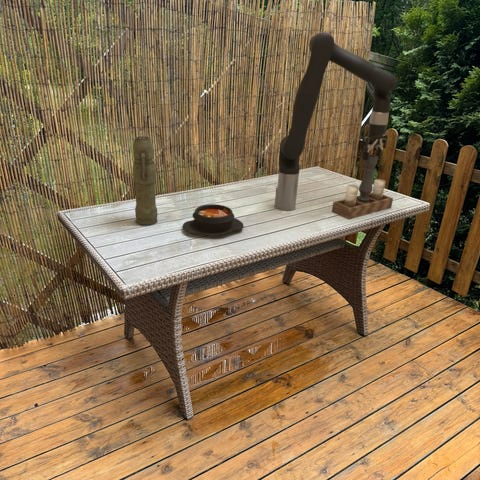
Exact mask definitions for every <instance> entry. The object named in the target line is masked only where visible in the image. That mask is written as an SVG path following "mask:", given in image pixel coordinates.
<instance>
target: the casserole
mask: <svg viewBox="0 0 480 480" xmlns="http://www.w3.org/2000/svg"><path fill="white" fill-rule="evenodd" d="M192 218H193V219H192V220H187V221H184V223H183V224H182V229H183V230H184V231H185V232H186V233H189V234H194V235H206V236H223V235H227V234H230V233H232V232H235V231H239V230H242V229H244V223H243V222H242V221H241V220H239V219H237V218H235V214H234V212H233V210H232V209H231V207H229V206H226V205H222V204H214V203H213V204H212V203H211V204H210V203H209V204H203V205H200V206H197V207H196V208H195V210H194V211H193V213H192Z"/></svg>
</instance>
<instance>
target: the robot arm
mask: <svg viewBox="0 0 480 480" xmlns="http://www.w3.org/2000/svg"><path fill="white" fill-rule="evenodd" d="M308 47H309V51H310V57H309V62H308V64H307V68H306V71H305V73H304V75H303V77H302V79H301V81H300V83H299V86H298V88H297V91H296V94H295V97H294V100H293V106H292V107H293V108H292V116H291V118H292V119H291V126H290V129H289V132H288V135H286V136H284V137H283V138H282V140H281V142H280V144H279V155H278V176H277V177H278V179H277V187H275V196H274V197H275V199H274V208H276V209H278V210H280V211H286V212H287V211H293V210H295V209H296V205H297V197H298V196H297V195H298V186H299V176H300V169H301V168H300V156H301V155H302V154H303V152H304V147H305V143H306V137H307V133H308V129H309V126H310V124H311V122H312V118H313V116H314V112H315V109H316V106H317V102H318V99H319V96H320V92H321V89H322V85H323V81H324V76H325V73H326V69H327V67H328V65H329V62H331V63H334V64H335V65H338V66H339V67H340V68H342V69H344V70H346V71H347V72H348V73H350V74H352V75H354V76H355V77H357V78H359V80H360V79H361V80H362V81H365V82H366V83H370V84H372V85H373V87H374V88H373V89H374V91H373V92H374V93H373V104H372V109H371V114H370V117H369V123H368V128H367V133H368V136H363V137H362V142H361V146H360V150H361V151H363V153H362V154H363V155H362V160H366V161H367V160H368V156H369V154H370V152H371V149H373V148H374V147H376V152H375V155H376V156H378V159H381V157H382V152H383V150H384V149H386V148H387V142H388V137H389V135H388V134H386V131H387V128H388V122H389V117H390V116H389V114H390V108H391V103H392V101H391V98H390V94H391V93H390V92H392V91H394V90H395V89H396V87H397V84H398V80H397V78H396V76H395V75H394V74H393V73H390V72H388V71H387V70H384V69H383V68H380V67H378V66H376V65H375V64H374V63H372V62H371V61H368V60H367V59H366V58H363V57H362V56H360V55H358V54H355V53H353V52H350V51H348V50H346V49H344V48H343V47H341V46H340V45H338V44H337V43H336V42H335V39H334V36H332V34H330V33H328V32H318V33H317V34H314V35H313V36H312V37H311V38H310V40H309V44H308Z"/></svg>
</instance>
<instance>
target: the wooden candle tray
mask: <svg viewBox="0 0 480 480" xmlns="http://www.w3.org/2000/svg"><path fill="white" fill-rule="evenodd" d="M386 182H387V181H386V180H384V179H380V178H377V179H374V182H373V185H372V192H371V193H370V195H369V198H370V200H369V201H370V203H367V204H363V203H361V202H359V201H357V199H358V196H359V195H358V191H359V186H357V185H355V184H348V185H346V191H345V197H344V199H339V200H338V199H337V200H335V201H333V202H332V208H331V212H332V213H334V214H336V215H338V216H341V217H342V218H344V219H347V220H352V219H355V218H359V217H362V216H367V215H371V214H374V213H377V212H381V211H385V210H389V209H391V208H392V205H393V201H394V198H393V197H391V196H388V195H386V194H384V191H385V187H386V186H385V185H386Z"/></svg>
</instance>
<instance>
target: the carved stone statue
mask: <svg viewBox="0 0 480 480" xmlns="http://www.w3.org/2000/svg"><path fill="white" fill-rule="evenodd" d="M132 156H133V157H132V158H133V159H134V160H133V166H132V180H133V183H134V189H135V190H134V191H135V193H134V194H135V208H134V211H135V219H136V220H135V222H136V224H137V225H139V226H142V227H145V226H146V227H148V226H154V225H156V224H157V223H158V208H157V202H156V201H157V200H156V182H157V180H156V179H157V177H156V176H157V175H156V172H157V171H156V166H155V163H154V146H153V143H152V140H151V138H150V137H147V136H137V137H135V138H134V140H133V143H132Z"/></svg>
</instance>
